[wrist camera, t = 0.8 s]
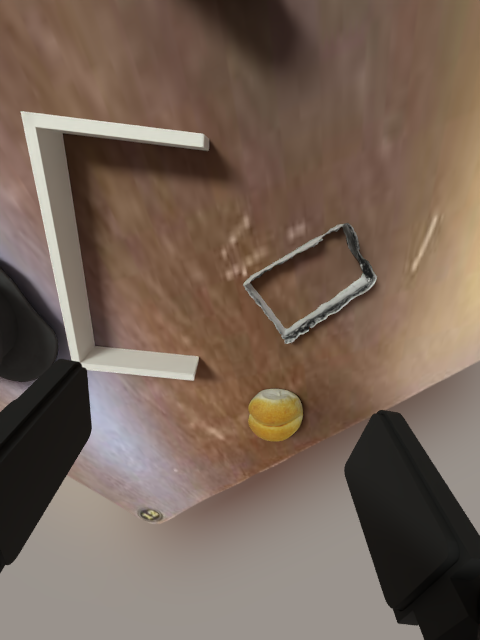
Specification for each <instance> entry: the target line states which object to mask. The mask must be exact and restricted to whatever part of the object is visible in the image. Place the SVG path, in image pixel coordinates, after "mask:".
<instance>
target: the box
mask: <svg viewBox="0 0 480 640" xmlns="http://www.w3.org/2000/svg"><path fill="white" fill-rule="evenodd" d="M21 115H22V120H23V125H24V130H25V135H26V140H27V145H28V150H29V155H30V159H31V164H32V169H33V174H34V179H35V184H36V189H37V194H38V199H39V203H40V208H41V213H42V218H43V223H44V228H45V233H46V238H47V243H48V247H49V252H50V257H51V262H52V267H53V272H54V277H55V282H56V287H57V291H58V296H59V301H60V306H61V311H62V316H63V321H64V326H65V331H66V335H67V340H68V345H69V350H70V355H71V360H72V361H77V362H80V363H81V364H82V367H84V368H86V369H87V370H93V371H103V372H113V373H123V374H133V375H143V376H153V377H163V378H173V379H183V380H193V381H194V378H195V374H196V371H197V367H198V363H199V357H198V356H188V355H179V354H169V353H159V352H149V351H140V350H130V349H120V348H110V347H101V346H95V342H94V335H93V329H92V322H91V315H90V309H89V302H88V296H87V289H86V283H85V276H84V270H83V263H82V257H81V250H80V244H79V237H78V231H77V224H76V218H75V211H74V205H73V198H72V192H71V185H70V179H69V172H68V166H67V159H66V152H65V146H64V139H63V133H66V134H74V135H82V136H90V137H98V138H106V139H115V140H123V141H131V142H139V143H147V144H155V145H164V146H172V147H180V148H188V149H196V150H204V151H209V138H208V137H206V136H205V135H204V134H200V133H192V132H184V131H176V130H168V129H160V128H152V127H144V126H136V125H128V124H119V123H111V122H103V121H95V120H87V119H79V118H71V117H63V116H55V115H47V114H39V113H31V112H23V111H21Z"/></svg>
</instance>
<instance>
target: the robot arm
mask: <svg viewBox="0 0 480 640" xmlns="http://www.w3.org/2000/svg"><path fill="white" fill-rule="evenodd" d="M91 429H92V426H91V414H90V402H89V390H88V378H87V369H86V368H84V367H82V364H81V363H80V362H77V361H71V360H64V359H59V360H57V361H56V362H55V363H54V364H53V365H52V366H51V367H50V368H49V369H47V370H46V371H45V372H44V373H43V374H42V375H41V376H40V377H39V378H38V379H37V380H36V381H35V382H34V383H33V384H32V385H31V386H30V387H29V388H28V389H27V390H26V391H25V392H24V393H23V394H22V395H21V396H20V397H19V398H18V399H16V400H14V401H12V402H11V403H10V404H8V405H7V406H6V407H5V408H4V409H3V410H2V411H1V412H0V573H1V571H2V569H3V568H4V566H5V565H10V564H11V563H12V562H13V561H14V560H15V559H16V558H17V556H18V554H19V553H20V551H21V550H22V548H23V546H24V545H25V543H26V541H27V540H28V538H29V536H30V535H31V533H32V532H33V530H34V528H35V526H36V525H37V523H38V522H39V520H40V518H41V517H42V515H43V513H44V512H45V510H46V508H47V507H48V505H49V503H50V502H51V500H52V498H53V497H54V495H55V493H56V492H57V490H58V489H59V487H60V485H61V484H62V482H63V480H64V478H65V477H66V475H67V474H68V472H69V470H70V469H71V467H72V465H73V464H74V462H75V460H76V459H77V457H78V455H79V454H80V452H81V450H82V449H83V447H84V445H85V444H86V442H87V441H88V439H89V436H90V434H91ZM344 471H345V477H346V480H347V483H348V487H349V490H350V492H351V496H352V499H353V502H354V505H355V508H356V511H357V514H358V517H359V520H360V523H361V527H362V529H363V532H364V535H365V539H366V542H367V545H368V548H369V551H370V554H371V557H372V560H373V563H374V567H375V570H376V573H377V576H378V579H379V582H380V585H381V588H382V591H383V594H384V597H385V600H386V602H387V604H388V605H389V606H390V607H391V608H393V611H394V613H395V617H396V620H397V622H398V623H399V624H408V625H419V627H420V629H421V632H422V634H423V637H424V640H480V536H479V534H478V533H477V531H476V530H475V528H474V526H473V525H472V523H471V522H470V520H469V518H468V517H467V515H466V514H465V512H464V511H463V509H462V508H461V506H460V505H459V503H458V501H457V500H456V499H455V497H454V495H453V494H452V492H451V491H450V489H449V487H448V486H447V484H446V483H445V481H444V480H443V478H442V477H441V475H440V473H439V472H438V471H437V469H436V467H435V466H434V464H433V463H432V462H431V460H430V458H429V456H428V455H427V454H426V452H425V450H424V449H423V447H422V446H421V444H420V442H419V441H418V439H417V438H416V436H415V435H414V433H413V432H412V430H411V429H410V427H409V426H408V424H407V422H406V421H405V419H404V418H403V416H402V415H401V414H400V413H397V412H391V411H385V410H380V411H378V412H377V414H373V415H372V417H371V418H370V420H369V422H368V424H367V426H366V428H365V429H364V431H363V433H362V435H361V437H360V439H359V440H358V442H357V444H356V446H355V448H354V450H353V451H352V453H351V455H350V457H349V459H348V461H347V462H346V464H345V470H344Z"/></svg>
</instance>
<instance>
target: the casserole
mask: <svg viewBox="0 0 480 640" xmlns="http://www.w3.org/2000/svg"><path fill="white" fill-rule="evenodd" d="M57 353H58V340H57V338H56V335H55V333H54V331H53V330H52V329H51V328H50V326H49V325H48V324H47V323H46V322H45V321H44V320H43V319H42V318H41V317H40V316H39V315H38V314H37V313H36V312H35V311H34V310H33V308H32V307H31V305H30V304H29V302H28V301H27V300H26V298H25V297H24V295H23V294H22V292H21V291H20V290H19V288H18V287H17V285H16V284H15V283H14V282H13V281H12V280H11V279H10V277H9V276H8V275H7V274H6V273H5V272H4V271H3V270H2V269H0V377H3V378H5V379H9V380H13V381H19V382H27V381H31V380H34V379H37V378H39V377H40V376H41V375H42V374H43V373H44V372H45V371H46V370H47V369H49V368H50V367H51V366H52V365H53V363H54V362H55V360H56V357H57Z"/></svg>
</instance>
